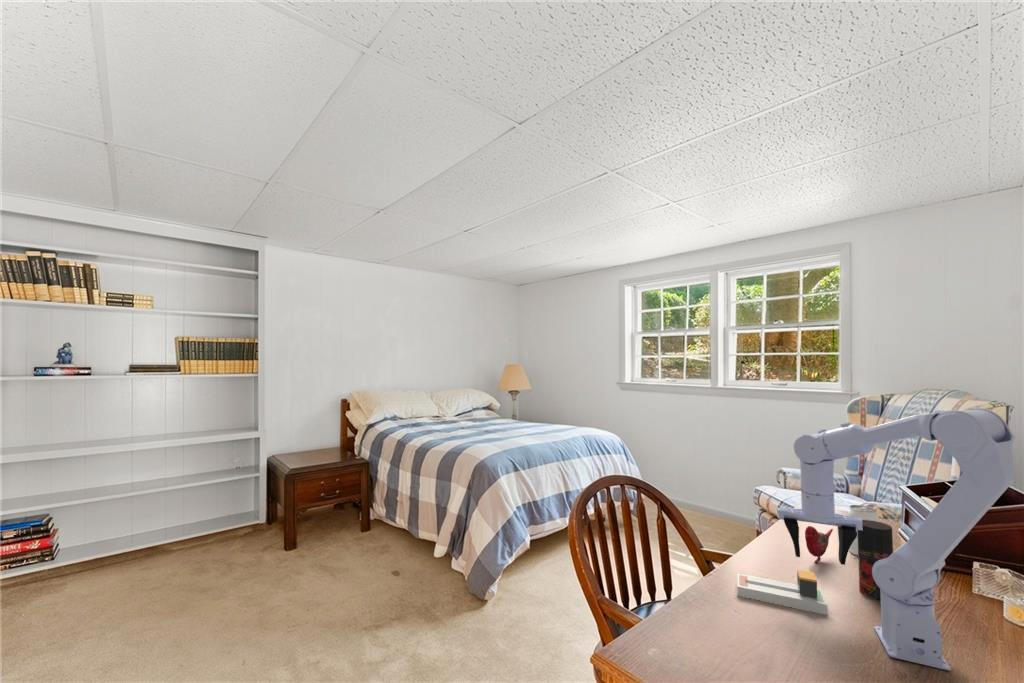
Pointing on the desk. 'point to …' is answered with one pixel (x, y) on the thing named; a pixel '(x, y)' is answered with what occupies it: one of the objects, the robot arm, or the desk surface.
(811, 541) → the decorative bird figurine
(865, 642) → the desk surface
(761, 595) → the box
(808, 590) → the handle
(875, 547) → the deodorant
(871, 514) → the can
